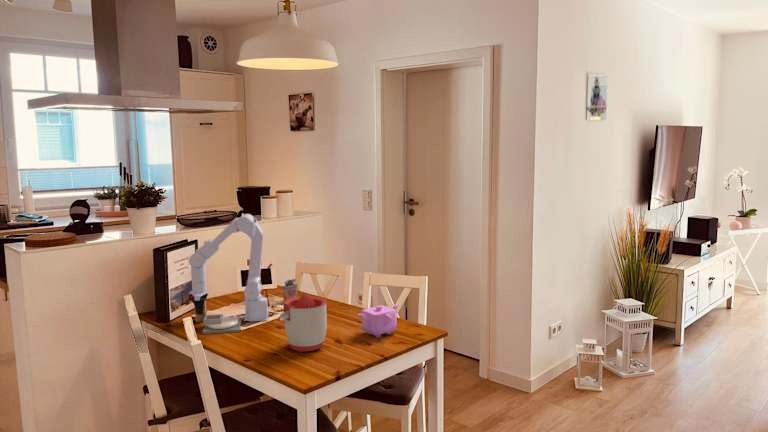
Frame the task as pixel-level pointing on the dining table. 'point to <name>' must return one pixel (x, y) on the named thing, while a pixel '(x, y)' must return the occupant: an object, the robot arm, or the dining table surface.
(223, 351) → the dining table surface
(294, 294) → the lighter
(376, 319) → the teapot
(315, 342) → the citrus juicer
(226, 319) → the dial
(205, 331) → the dial plate
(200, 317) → the driver peg
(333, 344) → the dining table surface
